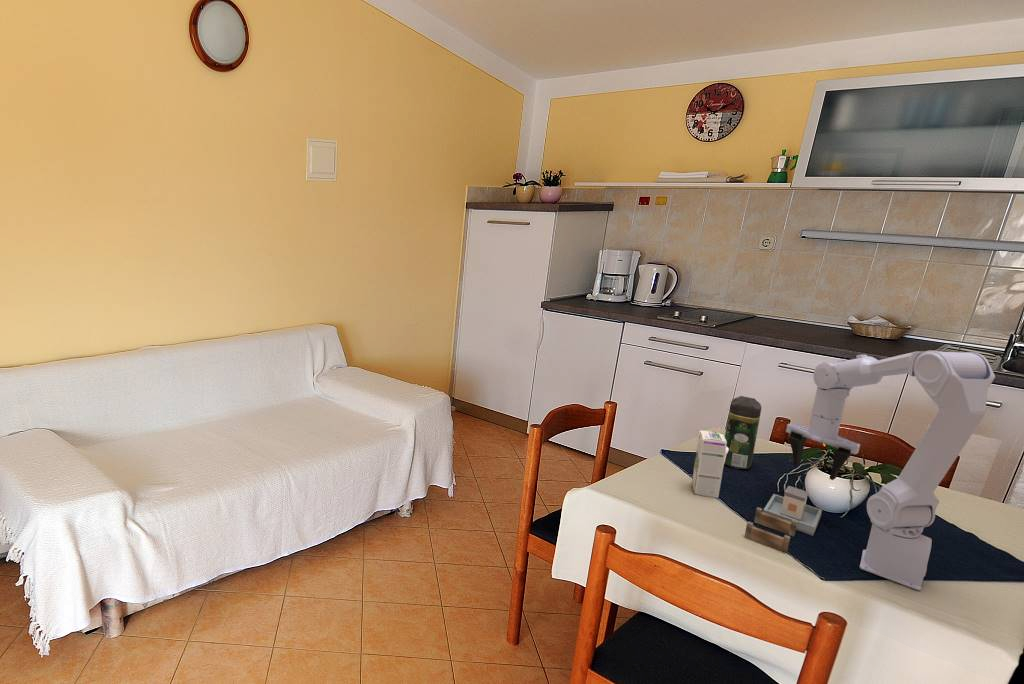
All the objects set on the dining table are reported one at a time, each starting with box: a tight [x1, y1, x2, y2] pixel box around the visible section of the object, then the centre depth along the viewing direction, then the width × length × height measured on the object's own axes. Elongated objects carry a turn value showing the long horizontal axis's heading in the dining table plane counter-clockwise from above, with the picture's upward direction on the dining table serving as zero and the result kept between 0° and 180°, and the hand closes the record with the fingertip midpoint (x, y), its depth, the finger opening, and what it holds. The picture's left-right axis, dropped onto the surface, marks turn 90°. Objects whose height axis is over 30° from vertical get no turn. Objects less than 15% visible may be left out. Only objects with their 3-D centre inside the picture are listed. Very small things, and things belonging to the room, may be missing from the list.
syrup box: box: [691, 430, 727, 499], centre depth 128 cm, size 6×6×14 cm
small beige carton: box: [780, 485, 809, 521], centre depth 119 cm, size 4×4×6 cm
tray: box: [762, 493, 823, 537], centre depth 119 cm, size 10×10×2 cm
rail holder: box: [743, 506, 798, 554], centre depth 111 cm, size 8×9×3 cm
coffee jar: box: [724, 395, 762, 470], centre depth 145 cm, size 10×8×19 cm
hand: (814, 471), depth 121 cm, fingers open, 7 cm apart
